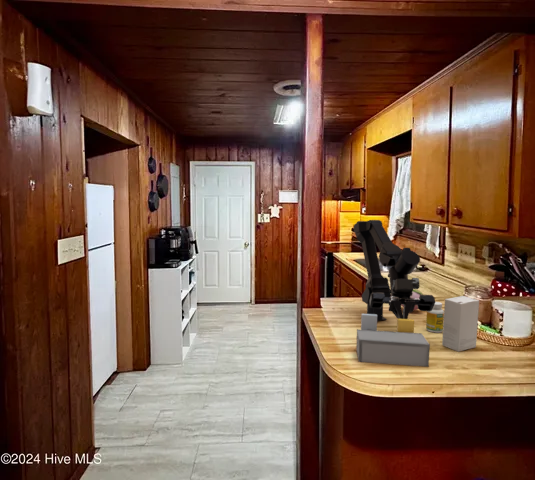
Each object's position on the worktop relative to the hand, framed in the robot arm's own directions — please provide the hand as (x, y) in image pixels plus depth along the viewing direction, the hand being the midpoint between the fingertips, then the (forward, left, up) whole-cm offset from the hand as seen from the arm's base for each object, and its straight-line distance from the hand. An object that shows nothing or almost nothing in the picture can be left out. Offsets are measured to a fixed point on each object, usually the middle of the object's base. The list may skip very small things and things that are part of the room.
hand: (404, 326), depth 115 cm
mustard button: (+5, -2, -5) cm, 8 cm away
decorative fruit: (-36, +24, -7) cm, 44 cm away
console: (+6, -8, -6) cm, 12 cm away
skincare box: (+2, +17, -7) cm, 19 cm away
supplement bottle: (-13, +19, -7) cm, 24 cm away
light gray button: (-1, -10, -5) cm, 12 cm away
